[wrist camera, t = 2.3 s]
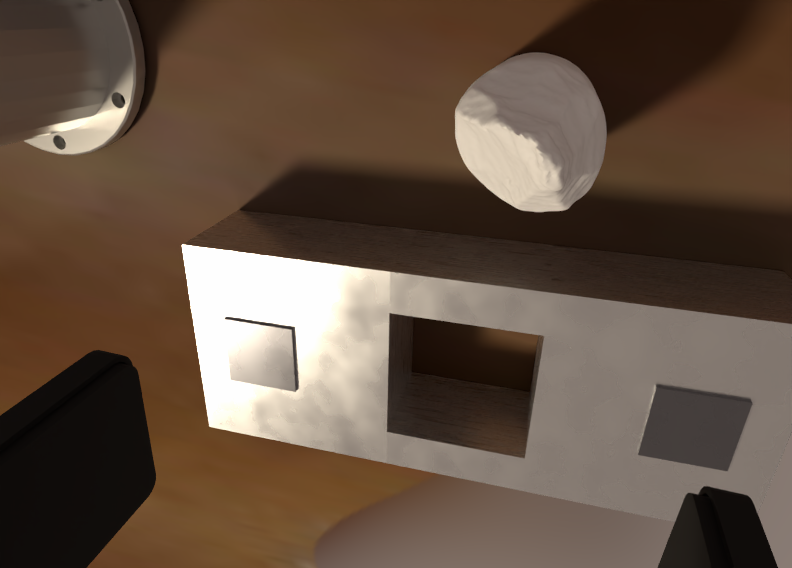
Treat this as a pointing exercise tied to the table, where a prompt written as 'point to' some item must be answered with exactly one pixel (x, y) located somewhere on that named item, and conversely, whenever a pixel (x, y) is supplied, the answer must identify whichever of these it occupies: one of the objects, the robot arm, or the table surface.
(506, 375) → the table surface
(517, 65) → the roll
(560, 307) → the white block holder
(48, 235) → the table surface
